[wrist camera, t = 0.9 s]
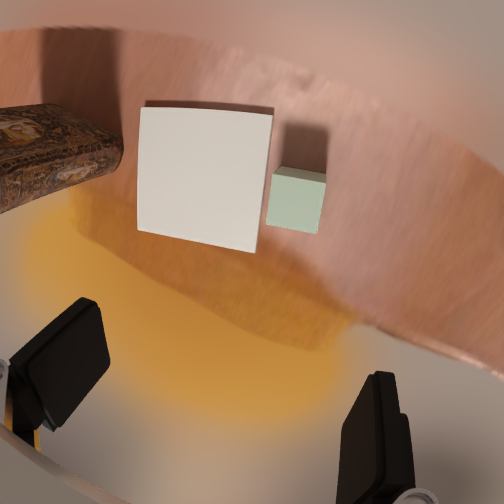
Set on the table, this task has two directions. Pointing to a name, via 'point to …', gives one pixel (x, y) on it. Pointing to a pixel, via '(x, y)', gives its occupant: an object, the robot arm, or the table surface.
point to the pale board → (203, 174)
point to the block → (296, 199)
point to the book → (50, 152)
